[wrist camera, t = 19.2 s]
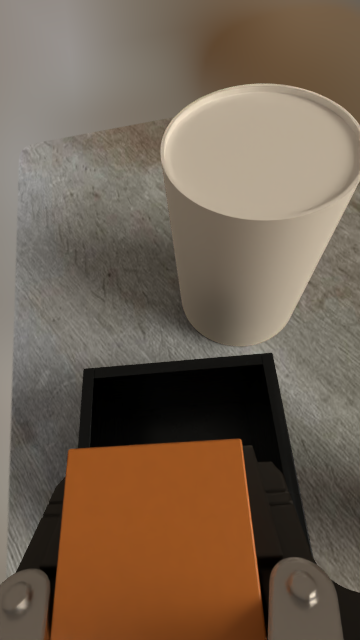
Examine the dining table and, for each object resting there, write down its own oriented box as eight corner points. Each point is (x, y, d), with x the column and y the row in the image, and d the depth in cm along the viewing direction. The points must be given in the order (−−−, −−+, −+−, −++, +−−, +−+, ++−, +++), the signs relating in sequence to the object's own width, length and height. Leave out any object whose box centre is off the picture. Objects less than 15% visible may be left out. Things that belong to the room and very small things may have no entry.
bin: (121, 560, 29) (66, 610, 18) (123, 404, 35) (83, 368, 24) (276, 550, 28) (321, 595, 17) (251, 394, 35) (272, 352, 23)
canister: (316, 319, 38) (415, 173, 20) (209, 364, 36) (210, 251, 18) (259, 236, 44) (296, 65, 26) (165, 272, 42) (134, 118, 24)
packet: (134, 608, 12) (35, 777, 5) (135, 464, 15) (67, 448, 8) (239, 603, 12) (284, 773, 5) (224, 459, 15) (241, 438, 7)
